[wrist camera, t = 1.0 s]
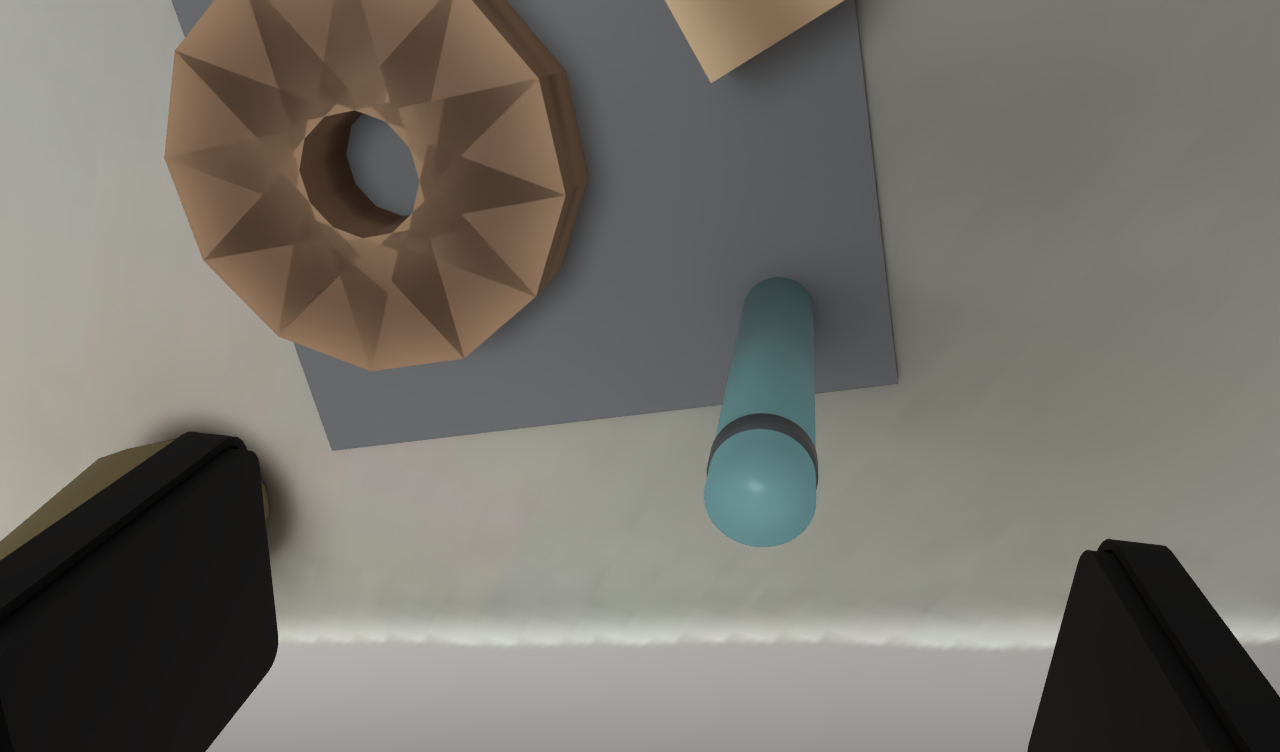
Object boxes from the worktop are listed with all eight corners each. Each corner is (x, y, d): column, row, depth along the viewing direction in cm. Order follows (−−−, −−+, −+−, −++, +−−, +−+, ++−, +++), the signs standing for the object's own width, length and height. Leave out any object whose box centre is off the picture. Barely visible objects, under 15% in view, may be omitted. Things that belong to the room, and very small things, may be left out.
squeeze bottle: (169, 569, 45) (-200, 900, 28) (106, 420, 42) (-344, 693, 26) (316, 560, 43) (13, 908, 27) (261, 404, 40) (-117, 686, 24)
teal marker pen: (809, 271, 33) (809, 442, 21) (819, 339, 34) (825, 544, 22) (736, 282, 34) (692, 454, 21) (747, 349, 35) (712, 553, 22)
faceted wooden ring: (530, -90, 30) (497, -100, 27) (618, 308, 35) (599, 339, 32) (172, 2, 34) (106, 3, 30) (298, 355, 38) (252, 388, 35)
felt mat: (833, -184, 28) (833, -187, 28) (897, 379, 35) (898, 383, 34) (174, -12, 34) (167, -12, 33) (336, 446, 40) (332, 450, 40)
